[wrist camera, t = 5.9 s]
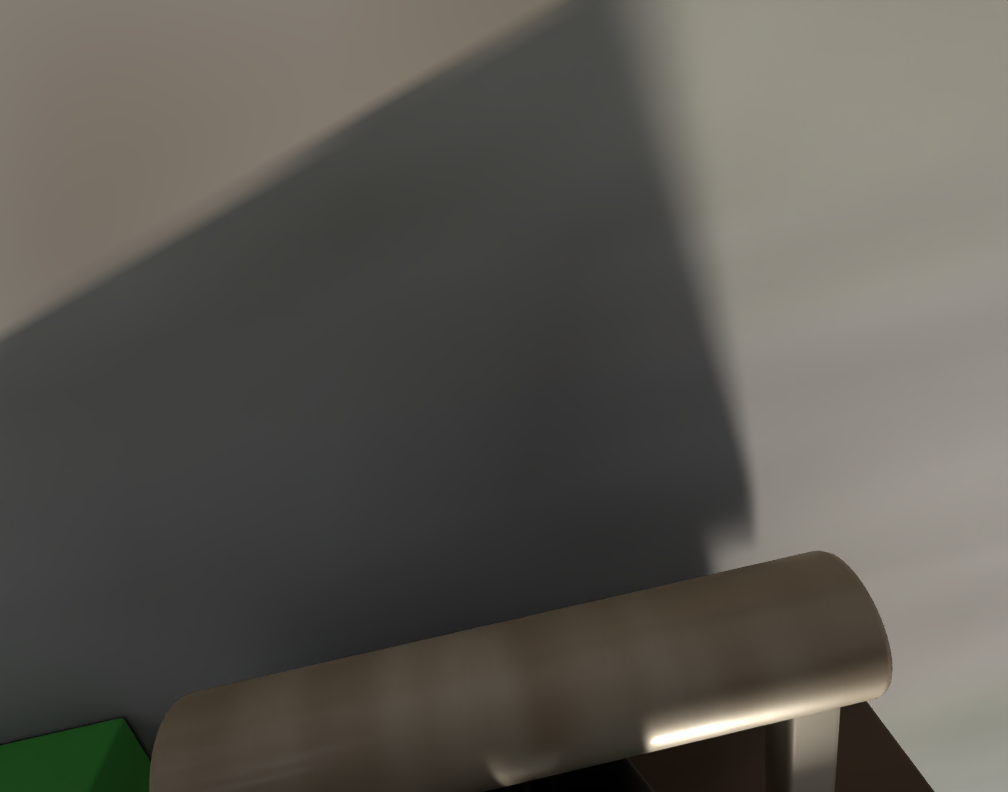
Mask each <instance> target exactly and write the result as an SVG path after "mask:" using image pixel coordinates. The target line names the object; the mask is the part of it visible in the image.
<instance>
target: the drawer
mask: <svg viewBox="0 0 1008 792" xmlns="http://www.w3.org/2000/svg"><path fill="white" fill-rule="evenodd" d="M891 678H892V657H891V651H890V646H889V642H888V638H887V635H886V631H885V628H884V625H883V623H882V620H881V617H880V615H879V613H878V610H877V608H876V606H875V604H874V602H873V600H872V598H871V597H870V595H869V593H868V591H867V590H866V588H865V587H864V585H863V583H862V582H861V581H860V579H859V578H858V576H857V575H856V574H855V573H854V572H853V570H852V569H851V568H850V567H849V566H848V565H847V564H846V563H845V562H844V561H843V560H841V559H840V558H839V557H837V556H835V555H834V554H831V553H828V552H823V551H812V552H807V553H803V554H799V555H794V556H790V557H785V558H781V559H777V560H772V561H768V562H763V563H759V564H755V565H750V566H746V567H741V568H737V569H733V570H728V571H724V572H719V573H715V574H711V575H706V576H702V577H697V578H693V579H689V580H684V581H680V582H675V583H671V584H667V585H662V586H658V587H653V588H649V589H645V590H640V591H636V592H631V593H627V594H623V595H618V596H614V597H609V598H605V599H601V600H596V601H592V602H587V603H583V604H579V605H574V606H570V607H565V608H561V609H557V610H552V611H548V612H543V613H539V614H535V615H530V616H526V617H521V618H517V619H513V620H508V621H504V622H499V623H495V624H491V625H486V626H482V627H477V628H473V629H469V630H464V631H460V632H455V633H451V634H447V635H442V636H438V637H433V638H429V639H425V640H420V641H416V642H411V643H407V644H403V645H398V646H394V647H389V648H385V649H381V650H376V651H372V652H367V653H363V654H359V655H354V656H350V657H345V658H341V659H337V660H332V661H328V662H324V663H319V664H315V665H310V666H306V667H302V668H297V669H293V670H288V671H284V672H280V673H275V674H271V675H266V676H262V677H258V678H253V679H249V680H244V681H240V682H236V683H231V684H227V685H222V686H218V687H214V688H209V689H205V690H200V691H196V692H192V693H189V694H186V695H185V696H183V697H182V698H180V699H179V700H177V701H176V702H175V703H174V704H173V705H172V706H171V707H170V709H169V710H168V711H167V713H166V715H165V716H164V718H163V720H162V722H161V725H160V727H159V730H158V733H157V736H156V739H155V743H154V747H153V752H152V758H151V765H150V777H149V792H485V791H489V790H494V789H498V788H502V787H506V786H510V785H515V784H519V783H523V782H527V781H532V780H536V779H540V778H544V777H548V776H553V775H557V774H561V773H565V772H570V771H574V770H578V769H582V768H586V767H591V766H595V765H599V764H603V763H607V762H612V761H616V760H620V759H624V758H629V759H630V760H631V762H632V763H633V764H634V766H635V767H636V768H637V769H638V771H639V772H640V773H641V774H642V776H643V777H644V778H645V780H646V781H647V782H648V783H649V785H650V786H651V787H652V788H653V790H654V791H655V792H934V790H933V789H932V788H931V786H930V785H929V784H928V782H927V781H926V780H925V778H924V777H923V776H922V774H921V773H920V772H919V770H918V769H917V768H916V766H915V765H914V764H913V762H912V761H911V760H910V758H909V757H908V756H907V754H906V753H905V752H904V750H903V749H902V748H901V746H900V745H899V744H898V742H897V741H896V740H895V739H894V737H893V736H892V735H891V733H890V732H889V731H888V729H887V728H886V727H885V725H884V724H883V723H882V721H881V720H880V719H879V717H878V716H877V715H876V713H875V712H874V711H873V709H872V708H871V707H870V705H869V704H868V703H867V701H869V700H873V699H877V698H878V697H880V696H881V695H882V694H883V693H884V692H886V690H887V689H888V688H889V685H890V683H891Z"/></svg>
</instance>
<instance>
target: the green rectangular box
mask: <svg viewBox="0 0 1008 792" xmlns="http://www.w3.org/2000/svg"><path fill="white" fill-rule="evenodd" d="M150 765H151V761H150V759H149V758H148V756H147V755H146V753H145V751H144V750H143V748H142V747H141V745H140V743H139V742H138V740H137V739H136V737H135V735H134V734H133V732H132V731H131V729H130V727H129V726H128V724H127V723H126V721H125V719H123V718H118V719H113V720H109V721H105V722H100V723H96V724H91V725H87V726H83V727H78V728H74V729H69V730H65V731H61V732H56V733H52V734H47V735H43V736H39V737H34V738H30V739H26V740H21V741H17V742H12V743H8V744H4V745H0V792H149V777H150Z"/></svg>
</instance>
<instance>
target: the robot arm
mask: <svg viewBox="0 0 1008 792" xmlns="http://www.w3.org/2000/svg"><path fill="white" fill-rule="evenodd" d="M485 792H655V791H654V790H653V788H652V787H651V786H650V785H649V783H648V782H647V781H646V780H645V778H644V777H643V776H642V774H641V773H640V772H639V771H638V769H637V768H636V767H635V766H634V764H633V763H632V762H631V760H630V759H629V758H624V759H620V760H616V761H612V762H607V763H603V764H599V765H595V766H591V767H586V768H582V769H578V770H574V771H570V772H565V773H561V774H557V775H553V776H548V777H544V778H540V779H536V780H532V781H527V782H523V783H519V784H515V785H510V786H506V787H502V788H498V789H494V790H489V791H485Z"/></svg>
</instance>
